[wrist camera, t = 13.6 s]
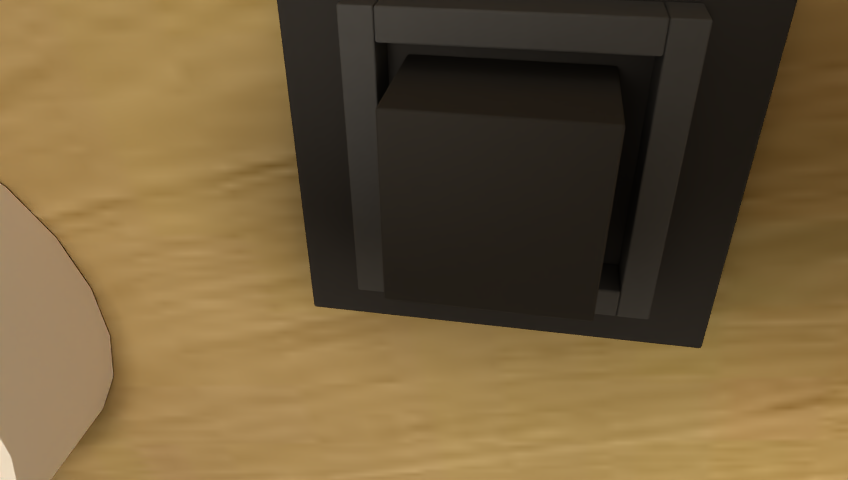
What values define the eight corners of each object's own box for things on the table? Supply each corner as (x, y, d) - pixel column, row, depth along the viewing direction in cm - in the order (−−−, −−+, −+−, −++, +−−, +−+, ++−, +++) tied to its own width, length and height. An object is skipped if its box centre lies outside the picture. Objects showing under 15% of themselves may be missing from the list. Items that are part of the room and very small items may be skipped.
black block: (618, 65, 20) (626, 125, 17) (591, 243, 23) (593, 323, 20) (406, 53, 21) (374, 107, 17) (410, 226, 24) (383, 299, 21)
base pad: (812, -97, 18) (842, -79, 16) (697, 330, 25) (708, 380, 23) (276, -106, 20) (241, -91, 18) (321, 290, 28) (301, 333, 26)
